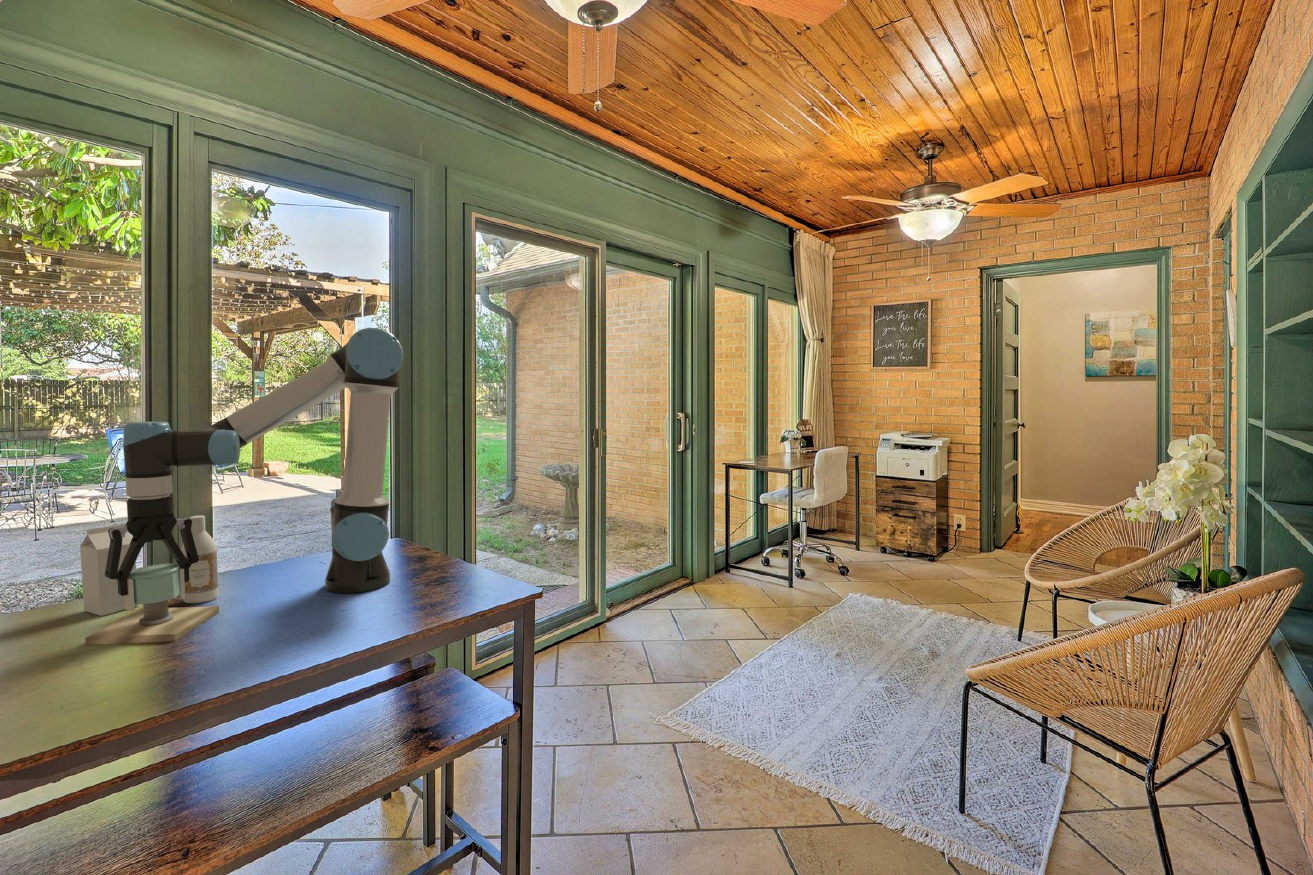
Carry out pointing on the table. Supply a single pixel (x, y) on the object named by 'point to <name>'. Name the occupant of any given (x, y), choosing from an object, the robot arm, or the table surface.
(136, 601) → the cap
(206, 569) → the bath foam
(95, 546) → the milk carton
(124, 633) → the stud board
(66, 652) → the table surface
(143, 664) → the table surface
